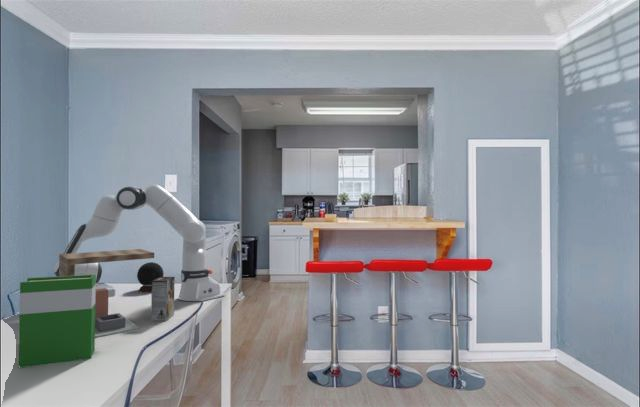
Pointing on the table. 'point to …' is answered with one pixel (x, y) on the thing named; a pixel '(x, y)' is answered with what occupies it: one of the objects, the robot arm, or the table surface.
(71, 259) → the l-shaped wooden plank
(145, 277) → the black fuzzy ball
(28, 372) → the table surface
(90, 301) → the hardback book
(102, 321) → the socket
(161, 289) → the coffee box
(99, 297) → the peg
